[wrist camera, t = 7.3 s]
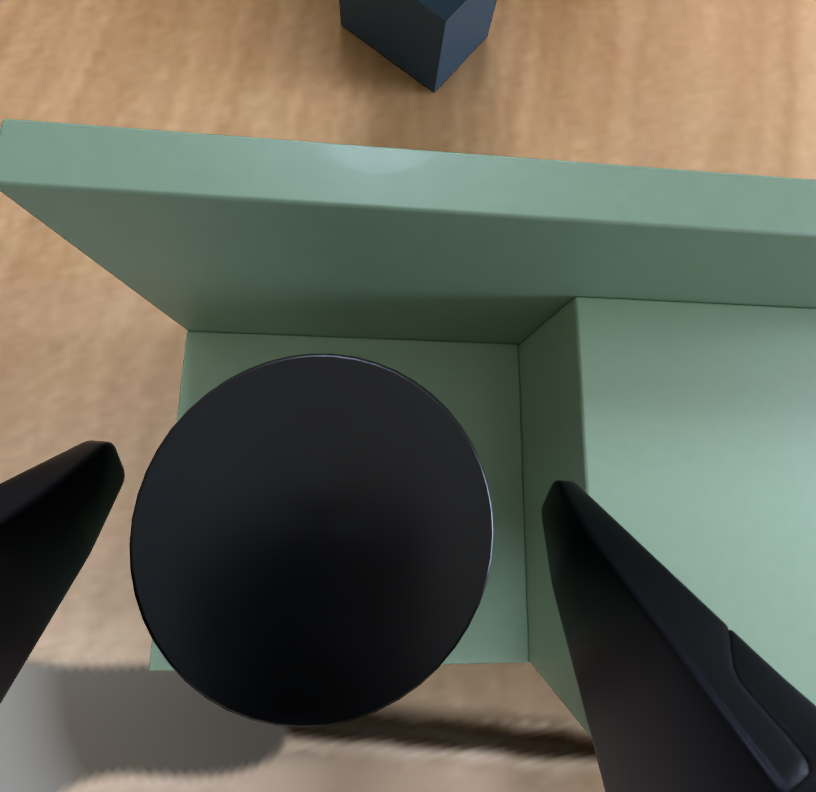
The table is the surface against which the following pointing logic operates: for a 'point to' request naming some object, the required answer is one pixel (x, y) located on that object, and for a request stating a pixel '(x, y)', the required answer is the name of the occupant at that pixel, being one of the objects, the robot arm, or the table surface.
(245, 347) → the step shelf
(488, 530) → the black canister
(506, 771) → the table surface
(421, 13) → the watch
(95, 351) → the table surface
